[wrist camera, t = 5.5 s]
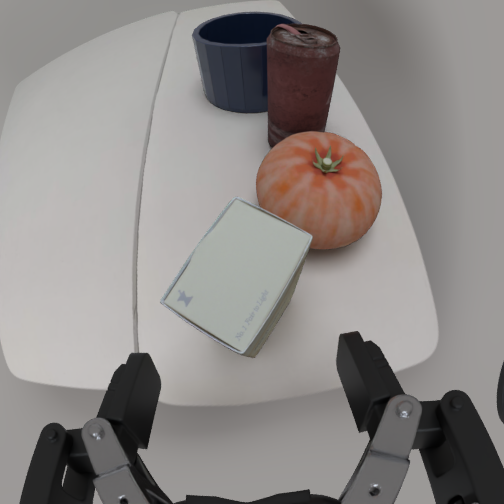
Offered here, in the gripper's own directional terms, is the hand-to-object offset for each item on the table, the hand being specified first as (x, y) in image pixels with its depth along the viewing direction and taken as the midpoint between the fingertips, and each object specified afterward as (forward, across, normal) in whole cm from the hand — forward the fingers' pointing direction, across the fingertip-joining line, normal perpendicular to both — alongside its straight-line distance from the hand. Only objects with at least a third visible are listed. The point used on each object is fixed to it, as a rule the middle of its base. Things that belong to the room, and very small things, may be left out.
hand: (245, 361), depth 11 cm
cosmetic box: (+11, 0, -6) cm, 12 cm away
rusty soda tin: (+24, +7, +7) cm, 26 cm away
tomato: (+17, +7, +1) cm, 19 cm away
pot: (+32, +3, +16) cm, 37 cm away
